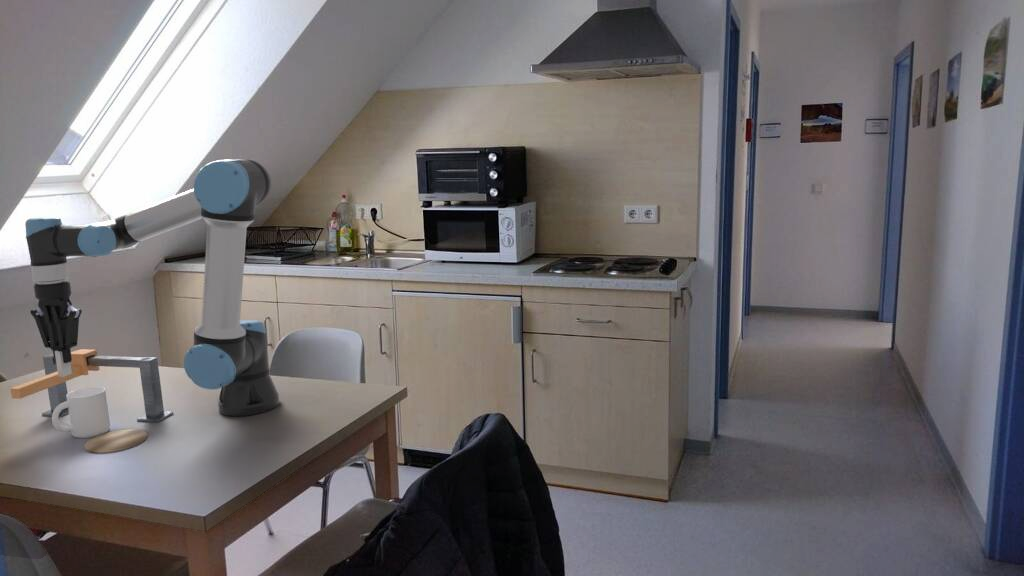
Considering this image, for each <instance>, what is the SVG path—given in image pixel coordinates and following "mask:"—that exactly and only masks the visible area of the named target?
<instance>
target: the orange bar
mask: <svg viewBox="0 0 1024 576" xmlns="http://www.w3.org/2000/svg"><path fill="white" fill-rule="evenodd" d="M89 356H99V355H98V350H97V349H84V348H83V349H81V348H80V349H77V350H74V351H71V358H72V361H71V362H70V363H71V370H72V374H70V375H67V376H64V377H58V371H57V372H54V373H51V374H49V375H43V376H41V377H37V378H35V379H32V380H30V381H27V382H25V383H21V384H19V385H16V386H13V387H10V393H11V399H18V400H19V399H20V400H21V399H24V398H26V397H29V396H32V395H34V394H36V393H39V392H42V391H44V390H48V388H50V387H52V386H55V385H57V384H60V383H63V382H65V381H66V382H68V381H70V380H74V379H76V378H78V377H80V376H88V375H89V372H90V371H92V372H94V371H95V372H98V371H100V370H101V369H100V366H87V361H86V357H89Z"/></svg>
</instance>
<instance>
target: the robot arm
mask: <svg viewBox="0 0 1024 576" xmlns="http://www.w3.org/2000/svg"><path fill="white" fill-rule="evenodd" d="M193 181H194V182H193V188H192V189H189V190H186V191H185V192H181V193H179V194H177V195H176V194H175V195H174V196H171V197H168V198H166V199H163V200H161V201H157V202H155V203H152V204H150V205H148V206H146V207H145V206H144V207H142V208H139V209H137V210H135V211H132V212H130V213H126V214H124V215H121V216H118V217H117V218H114V219H109V220H106V221H99V222H92V223H86V224H73V225H66V224H63V223H62V219H61V218H60V217H59V216H42V217H41V216H39V217H32V218H28V219H26V221H25V239H26V243H27V249H28V254H29V257H30V268H31V276H32V282H34V285H33V289H34V295H35V296H34V297H35V298H36V299H37V300H38V303H37V307H35V308H34V309H31V310H30V311H29V313H30V314H31V316H32V318H33V319H34V320H35V323H36V326H37V329H38V332H39V334H40V337H41V340H42V344H43V346H44V348H46V349H51V351H52V354H53V355H54V361H55V363H56V364H57V371H58V377H64V376H67V375H70V374H72V370H71V363H70V362H71V361H72V358H71V352H72V351H71V350H72V348H74V347H77V346H78V341H79V339H78V337H79V325H80V317H81V315H82V313H83V310H82V309H81V308H75V307H74V306H73V304H72V303H73V302H72V301H71V299H70V297H71V295H72V288H71V287H72V286H71V281H70V280H68V279H69V278H70V276H69V274H70V273H69V270H68V269H69V267H68V260H67V257H91V258H96V257H105V256H109V255H111V253H112V252H113V251H116V250H122V249H128V248H131V247H133V246H135V245H137V244H138V243H140V242H142V241H145V240H148V239H150V238H153V237H156V236H158V235H161V234H165V233H166V232H169V231H172V230H174V229H178V228H181V227H183V226H186V225H188V224H191V223H194V222H196V221H199V220H201V219H203V220H204V222H205V223H206V224H207V227H206V228H207V229H206V240H205V241H206V244H205V245H206V247H205V259H204V260H205V261H204V262H205V263H204V273H203V274H204V278H203V292H202V308H201V309H202V310H201V322H200V324H199V325H197V326H195V328H194V330H193V342H192V343H193V345H192V347H190V349H188V350H187V352H186V353H185V355H184V359H183V368H184V372H185V373H186V376H187V377H188V378H189V379H190V380H191V381H192V383H194V384H195V385H196V386H198V387H200V388H202V389H206V390H219V389H220V393H219V397H218V401H217V405H218V412H219V413H220V414H221V415H225V416H228V417H229V416H231V417H243V416H244V417H245V416H252V415H258V414H262V413H266V412H269V411H271V410H273V409H274V408H277V406H279V404H280V395H279V392H278V390H277V388H276V385H275V384H274V381H273V379H272V377H271V374H270V365H269V361H270V360H269V352H268V342H267V341H268V340H267V332H266V326H265V323H264V322H263V321H261V320H259V319H258V320H257V319H256V320H255V319H245V320H243V319H242V320H241V313H242V312H241V311H242V299H243V285H244V283H243V282H244V273H245V272H244V270H245V258H246V257H245V256H246V243H247V241H246V239H247V229H248V227H249V226H250V225H251V224H253V222H254V221H255V215H256V206H259V205H260V204H262V203H264V202H265V200H266V199H267V198H269V195H270V193H271V189H272V179H271V175H270V173H269V171H268V170H267V169H266V167H265V166H264V165H262V164H261V163H259V162H258V161H256V160H253V159H250V158H238V159H237V158H236V159H233V158H232V159H228V158H227V159H225V158H221V159H218V160H215V161H211V162H209V163H207V164H205V165H203V167H201V168H200V170H199V171H198V172H197V174H196V176H195V178H194V180H193Z"/></svg>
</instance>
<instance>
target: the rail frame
mask: <svg viewBox="0 0 1024 576" xmlns="http://www.w3.org/2000/svg"><path fill="white" fill-rule="evenodd" d="M42 359H43V360H42V361H43V368H44V372H45V375H44V376H46V375H49V374H51V373H54V372H57V364H56V363H55V361H54V355H53V353H51V354H48V355H44V356H42ZM86 361H87V366H99V367H109V368H110V367H111V368H112V367H114V368H132V369H133V368H136V369H137V368H138V369H139V372H140V379H141V388H142V396H143V404H144V412H145V414H143V415H142V416H140V417H138V418H136V421H137V422H146V423H148V422H149V423H160V422H161V421H163V420H165V419H167V418H169V417H170V416H172V415H174V411H168V410H166V411H165V409H164V401H163V395H162V385H161V384H162V383H161V378H160V377H161V376H160V370H159V361H158V357H157V356H156V357H153V356H151V357H149V356H147V357H143V356H142V357H141V356H140V357H139V356H138V357H137V356H116V355H115V356H113V355H98V356H89V357H86ZM68 393H69V392H68V388H67V381H65V382H63V383H60V384H57V385H55V386H52V387H50V388H47V394H48V399H49V405H50V409H49V410H46V411H45V412H41V415H42V417H43V416H44V417H52V414H53V411H54V409H55V408H56V407H57V406H58V405H59V404H61V403H63V402H65V401H67V397H66V395H67V394H68ZM65 415H69V411H68V408H65V409H63V410H62V411H61V412H60V413H59V416H58V418H59V417H63V416H65Z"/></svg>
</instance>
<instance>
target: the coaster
mask: <svg viewBox="0 0 1024 576" xmlns="http://www.w3.org/2000/svg"><path fill="white" fill-rule="evenodd" d="M147 438H148V434H147V432H146V431H144V430H141V429H135V428H134V429H133V428H130V429H127V428H126V429H119V430H113V431H107V432H106V433H104V434H101V435H99V436H95V437H91V438H90V439H88V440H87V441H86V442H85V443H84V450H85V451H86V452H89V453H94V454H106V453H107V454H108V453H115V452H120V451H123V450H127V449H130V448H133V447H136V446H138V445H140V444H142V443H143V442H145V441H146V440H147Z"/></svg>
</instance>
